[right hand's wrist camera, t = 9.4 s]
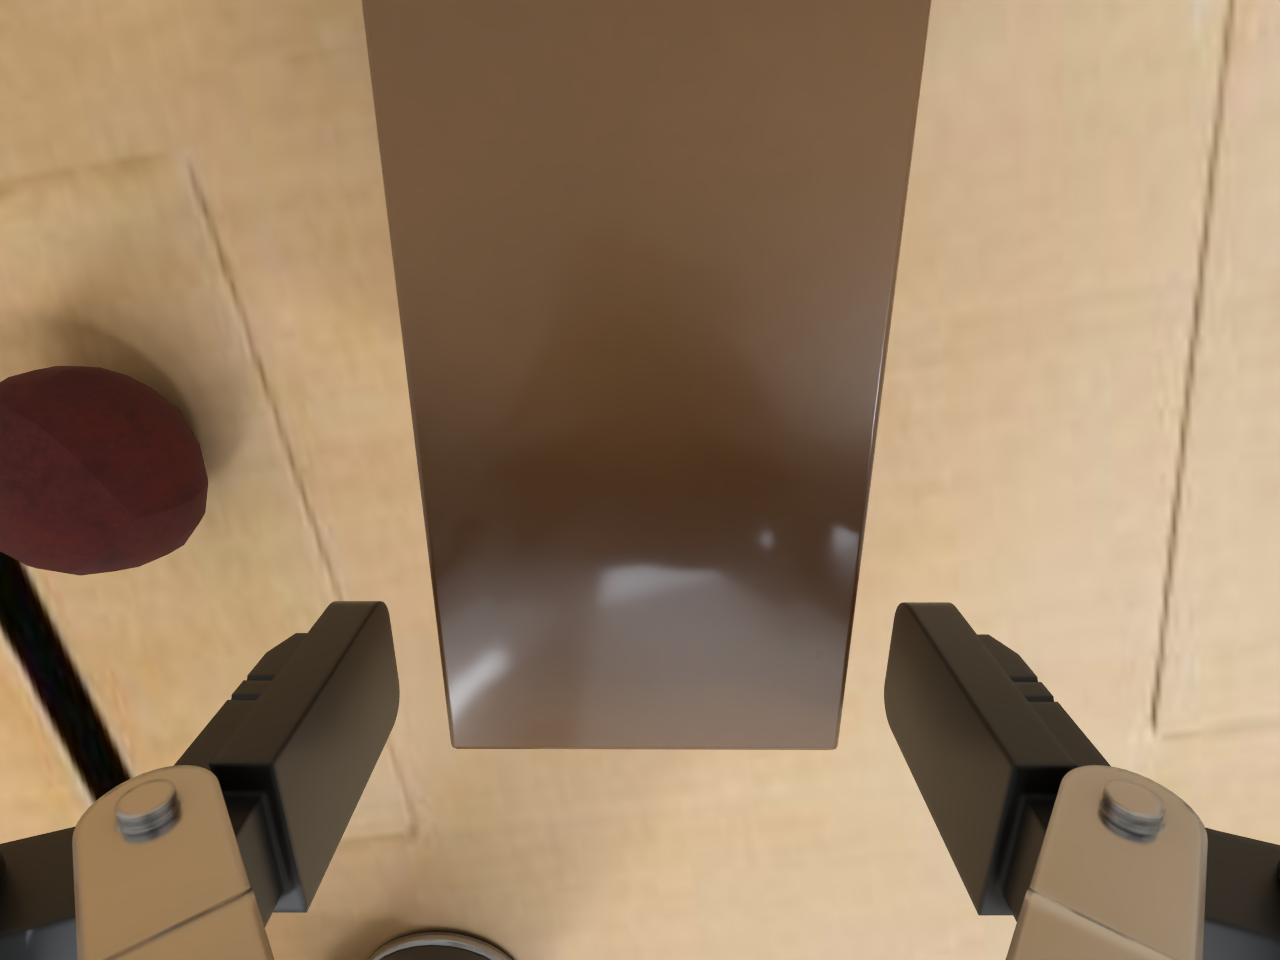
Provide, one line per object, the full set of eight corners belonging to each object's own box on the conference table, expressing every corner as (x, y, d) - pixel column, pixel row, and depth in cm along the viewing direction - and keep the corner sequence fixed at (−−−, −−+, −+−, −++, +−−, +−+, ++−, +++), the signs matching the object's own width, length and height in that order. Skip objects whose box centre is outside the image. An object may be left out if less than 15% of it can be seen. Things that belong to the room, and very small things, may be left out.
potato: (130, 307, 27) (-30, 347, 21) (285, 462, 30) (185, 542, 23) (11, 420, 29) (-172, 489, 22) (167, 559, 31) (41, 658, 25)
